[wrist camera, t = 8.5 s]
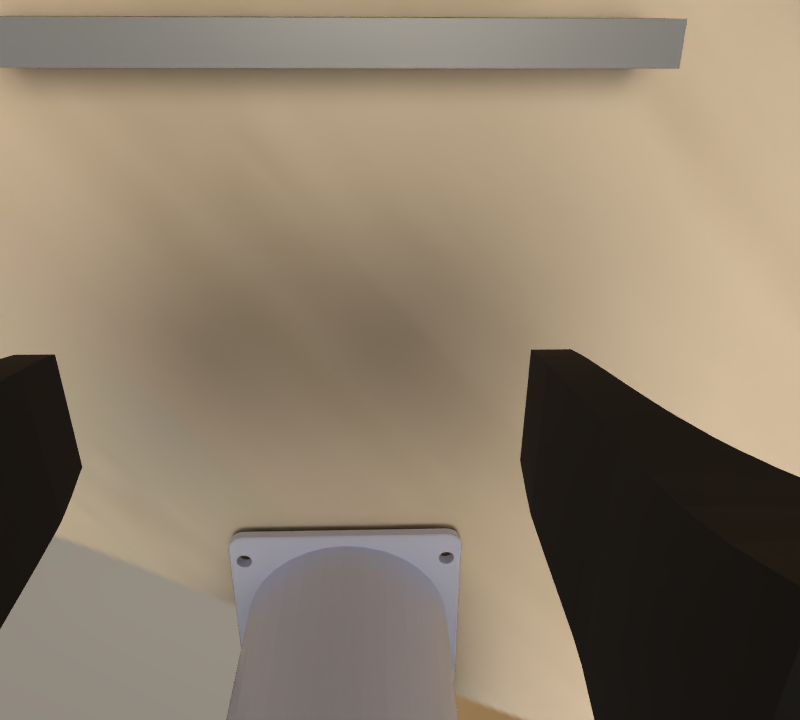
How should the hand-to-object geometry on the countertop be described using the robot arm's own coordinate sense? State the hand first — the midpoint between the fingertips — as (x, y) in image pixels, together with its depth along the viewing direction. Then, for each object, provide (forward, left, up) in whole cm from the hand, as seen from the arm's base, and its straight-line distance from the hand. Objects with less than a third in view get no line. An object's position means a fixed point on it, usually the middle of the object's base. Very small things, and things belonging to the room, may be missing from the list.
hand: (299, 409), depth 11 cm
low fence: (+5, 0, -10) cm, 11 cm away
